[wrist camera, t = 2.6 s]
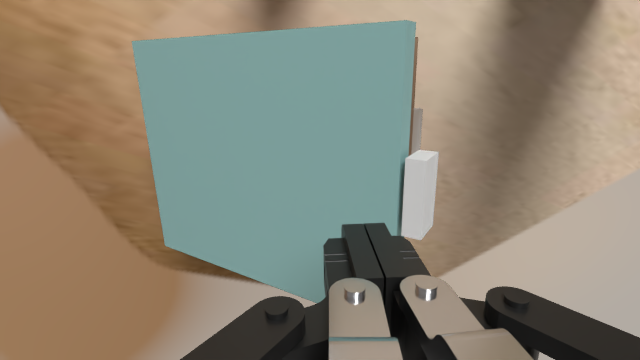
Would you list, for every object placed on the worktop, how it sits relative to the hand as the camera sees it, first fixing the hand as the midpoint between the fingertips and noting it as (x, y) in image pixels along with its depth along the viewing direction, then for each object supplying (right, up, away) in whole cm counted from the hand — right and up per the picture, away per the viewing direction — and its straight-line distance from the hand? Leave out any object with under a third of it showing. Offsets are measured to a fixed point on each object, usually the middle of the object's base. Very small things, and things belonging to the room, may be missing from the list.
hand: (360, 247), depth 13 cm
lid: (-4, +4, +11) cm, 13 cm away
